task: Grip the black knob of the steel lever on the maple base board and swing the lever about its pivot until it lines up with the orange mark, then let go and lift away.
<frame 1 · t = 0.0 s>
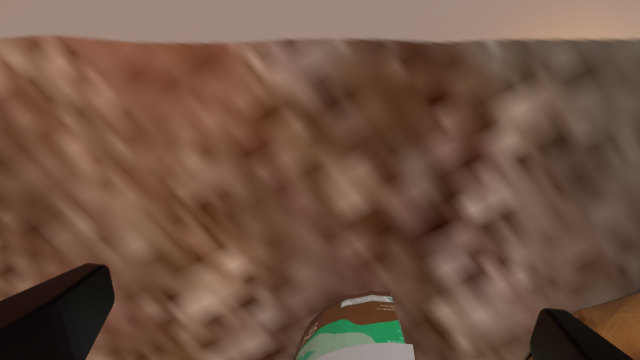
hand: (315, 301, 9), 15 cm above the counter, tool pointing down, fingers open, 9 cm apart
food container: (330, 351, 26), on the counter
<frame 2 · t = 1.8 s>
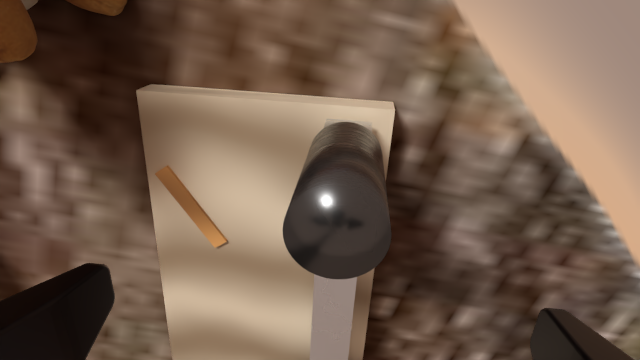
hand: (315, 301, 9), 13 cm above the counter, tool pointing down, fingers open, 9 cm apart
base board: (269, 261, 24), on the counter
lever: (329, 337, 18), point 6 cm above the counter, hinge at 0.0°
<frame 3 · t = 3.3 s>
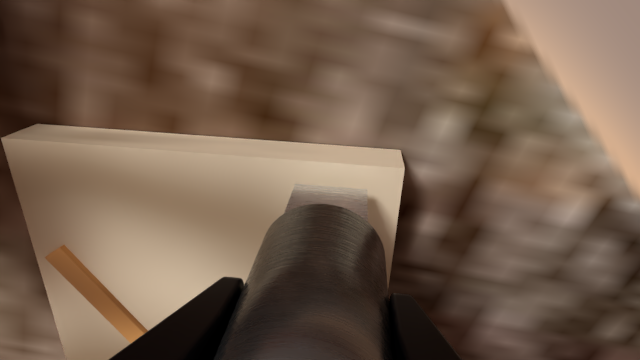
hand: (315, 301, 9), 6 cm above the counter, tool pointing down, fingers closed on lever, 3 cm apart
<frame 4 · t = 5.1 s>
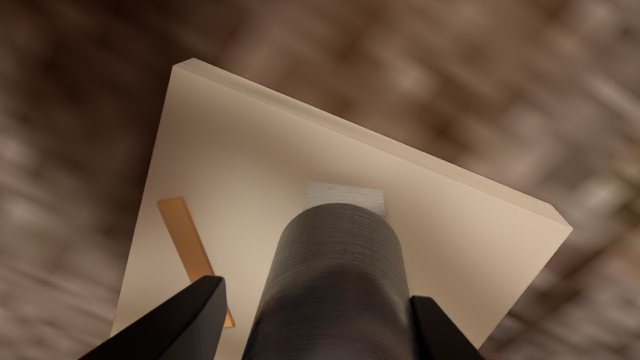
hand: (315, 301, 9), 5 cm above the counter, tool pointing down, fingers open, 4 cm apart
base board: (274, 349, 17), on the counter
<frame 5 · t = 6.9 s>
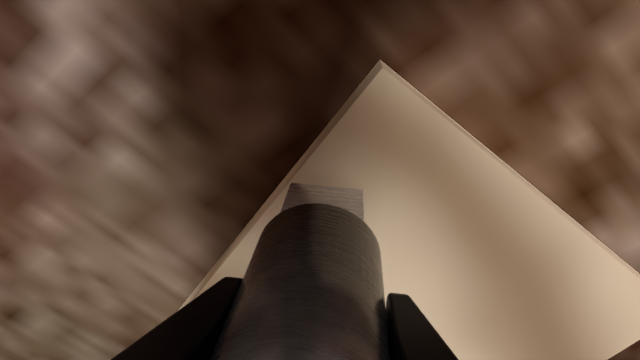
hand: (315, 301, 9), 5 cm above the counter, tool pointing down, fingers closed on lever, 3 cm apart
base board: (331, 354, 17), on the counter
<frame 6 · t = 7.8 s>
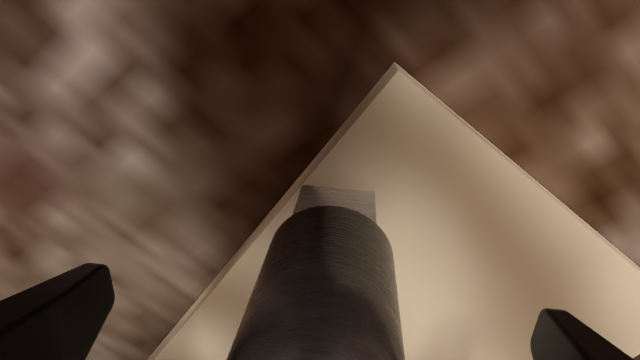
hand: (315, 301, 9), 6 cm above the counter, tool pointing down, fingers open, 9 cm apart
base board: (340, 356, 17), on the counter
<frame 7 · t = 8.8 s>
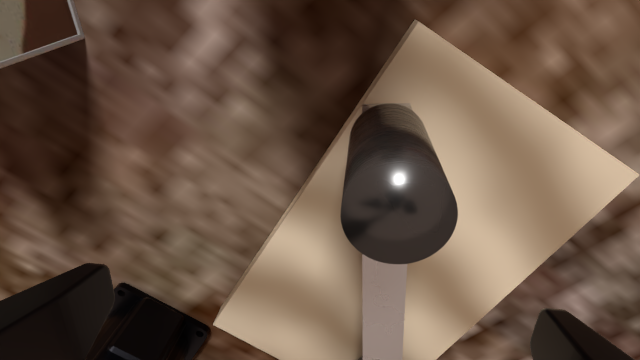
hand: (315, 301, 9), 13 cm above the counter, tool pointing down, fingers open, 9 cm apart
base board: (392, 245, 23), on the counter
lever: (385, 329, 18), point 6 cm above the counter, hinge at 34.1°
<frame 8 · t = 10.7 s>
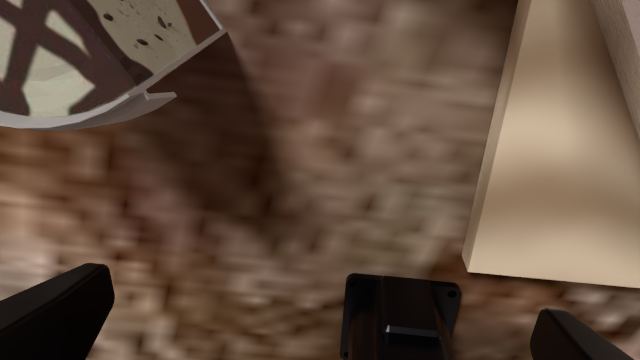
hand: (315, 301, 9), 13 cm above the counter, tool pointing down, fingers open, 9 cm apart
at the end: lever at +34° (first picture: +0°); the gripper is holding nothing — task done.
